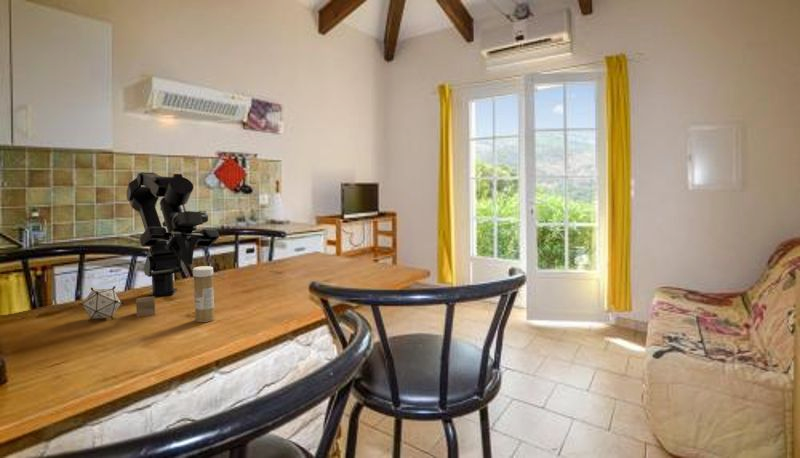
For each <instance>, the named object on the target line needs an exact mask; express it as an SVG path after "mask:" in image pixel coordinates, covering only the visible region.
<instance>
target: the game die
mask: <svg viewBox="0 0 800 458" xmlns="http://www.w3.org/2000/svg"><path fill="white" fill-rule="evenodd" d="M115 289H116V285H114V286H113V287H112V288H101V289H94V287H90V291H91V292H89V294H88V295H87V296H86V298H85V299H84V300H83V301H82V302H79V303H77V305H78V306H82V307H83V309H84V310H85V312H86V314H87V315H88V317H89V319H88V320H87V321H88V323H89V322H91V321H92V320H94V319H105V318H106V319H107V318H110V319H111V320H114V319H115V318H114V315H115V313H116V311H117V310H118V309H119V308H120V306H121V305H124V304H125V302H124V301H123V302H122V301H121V299H120V298H119V296H118V295H117V293H116V291H115Z"/></svg>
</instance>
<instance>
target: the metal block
mask: <svg viewBox="0 0 800 458" xmlns="http://www.w3.org/2000/svg"><path fill="white" fill-rule="evenodd" d="M155 302H156V301H155V296H147V297H145V296H144V297H138V298H136V301H135V305H136V306H135V308H136V318H142V317H149V316H156V303H155Z"/></svg>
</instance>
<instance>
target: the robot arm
mask: <svg viewBox="0 0 800 458" xmlns="http://www.w3.org/2000/svg"><path fill="white" fill-rule="evenodd" d="M193 190H194V184H193V182H192V181H191V180H190V179H188V178H186V177H183V174H182V173H174V174H173V176H161V175H159V174H157V173H154V172H142V171H140V173H137V176H136V178H134V179H133V180H132V181H130V182H128V186H127V188H126V200H127V201H128V202H129V203H130V207H131V208H132V209H134V210H135V211H136V212H138V213H139V215H140V218H141V219H140V220H141V222H142V226H143V228H144V232H143V233H142V234H141V235H140V237H139V241H140V242H139V243H140V246H141V247H149V249H148V252H147V255H146V259H145V262H144V266H143V271H144V275H145V276H147V277H148V278H151V287H152V288H151V290H152V291H151V292H150V293H149V294H148V297H153V296H154V297H160V296H161V297H162V296H173V295H174V294H175V293H176V292H178V288H177V287H175V286H174V282H175V281H174V274H179V273H180V272H181V265H182V264H181V262H183V264H185V265H186V266H187V267H189V266H192V264H193V258H194V253H195V252H194V251H195V247H196V246H197V247H199V248H209V247H211V246H212V245H213V244H214V243H215V242H216V241H217V240H218V239H219V238H220V235H219V232H218V230H216V229H215V228H214V229H213V228H212V229H210V228H203V229H202V230H201V231H200V232H199V233H197V232H196V233H195V232H193V231H196V230H197V226H200V225H203V224H206V223H207V222H208V221H209V214H208V213H207V211H206V210H199V211H190V210H189V211H188V210H187V209H186V207H185V205H186V204H187V203H188V201H189V200H190V197H191V195H192V193H193ZM159 198H161V199H160V201H159ZM158 201H159V205H160V206H159V208H160V211H161V213H162V216H163V220H164V221H163V222H162V223H161V221H160V217H159V214H158V212H157V203H158Z"/></svg>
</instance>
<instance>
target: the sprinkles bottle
mask: <svg viewBox="0 0 800 458" xmlns="http://www.w3.org/2000/svg"><path fill="white" fill-rule="evenodd" d="M192 276H193V283H194V287H193V288H194V292H193V293H194V294H193V295H194V310H195V311H194V314H195V315H194V317H195V318H194V321H195V322H196V323H207V322H211V321H213V320H215V319H216V318H215V297H214V294H215V293H214V267H213V266H210V265H208V266H207V265H202V266H201V265H200V266H195V267H193V268H192Z"/></svg>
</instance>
